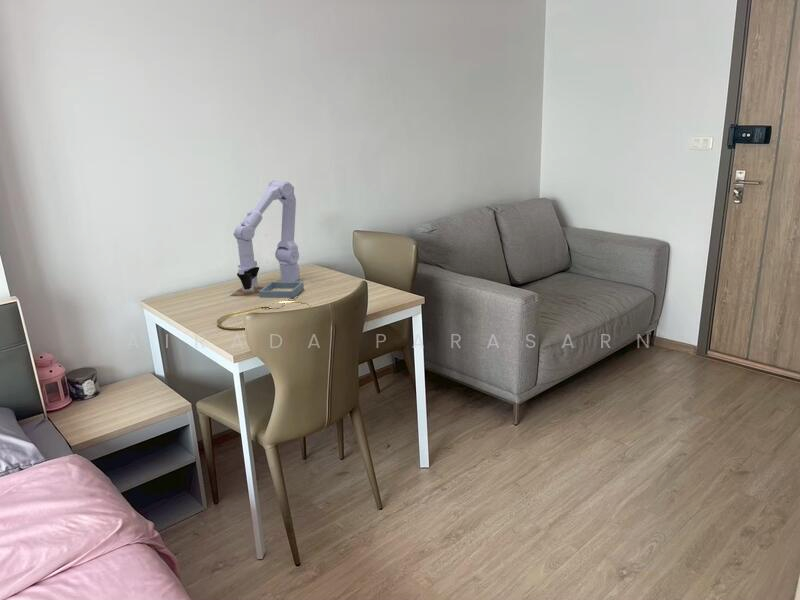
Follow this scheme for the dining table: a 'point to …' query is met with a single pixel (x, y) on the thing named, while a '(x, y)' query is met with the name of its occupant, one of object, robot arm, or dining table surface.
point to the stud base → (240, 293)
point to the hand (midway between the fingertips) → (250, 286)
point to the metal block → (251, 285)
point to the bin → (296, 287)
